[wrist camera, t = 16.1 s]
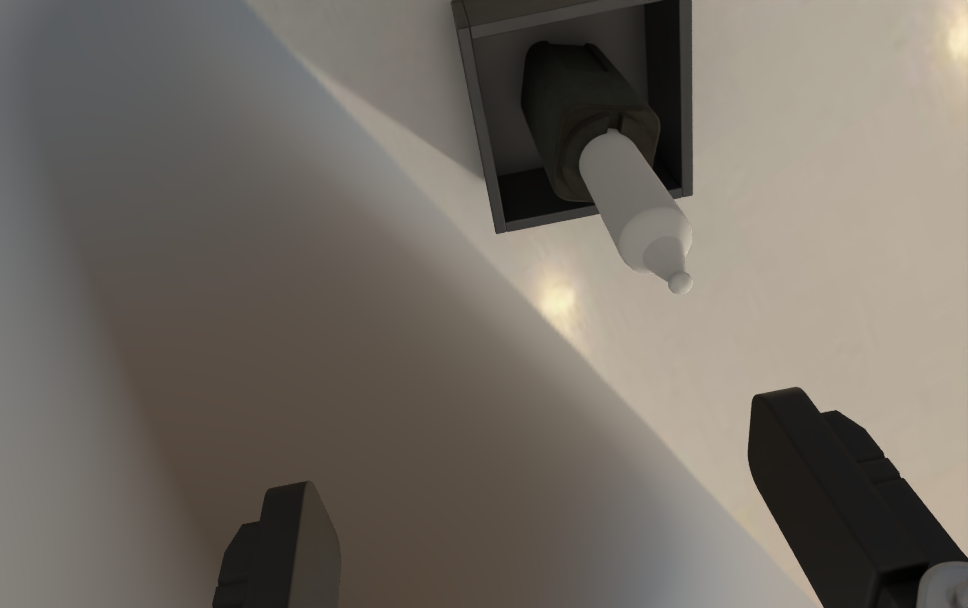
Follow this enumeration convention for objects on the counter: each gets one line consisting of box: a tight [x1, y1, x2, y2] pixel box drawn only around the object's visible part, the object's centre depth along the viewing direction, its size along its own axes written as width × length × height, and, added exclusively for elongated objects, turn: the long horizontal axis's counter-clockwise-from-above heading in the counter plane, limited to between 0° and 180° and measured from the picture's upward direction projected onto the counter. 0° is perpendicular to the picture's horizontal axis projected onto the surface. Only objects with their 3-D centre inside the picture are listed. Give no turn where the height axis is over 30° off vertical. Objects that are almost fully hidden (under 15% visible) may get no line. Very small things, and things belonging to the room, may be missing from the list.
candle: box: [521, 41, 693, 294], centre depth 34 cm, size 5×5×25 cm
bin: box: [451, 0, 693, 234], centre depth 42 cm, size 12×12×8 cm
